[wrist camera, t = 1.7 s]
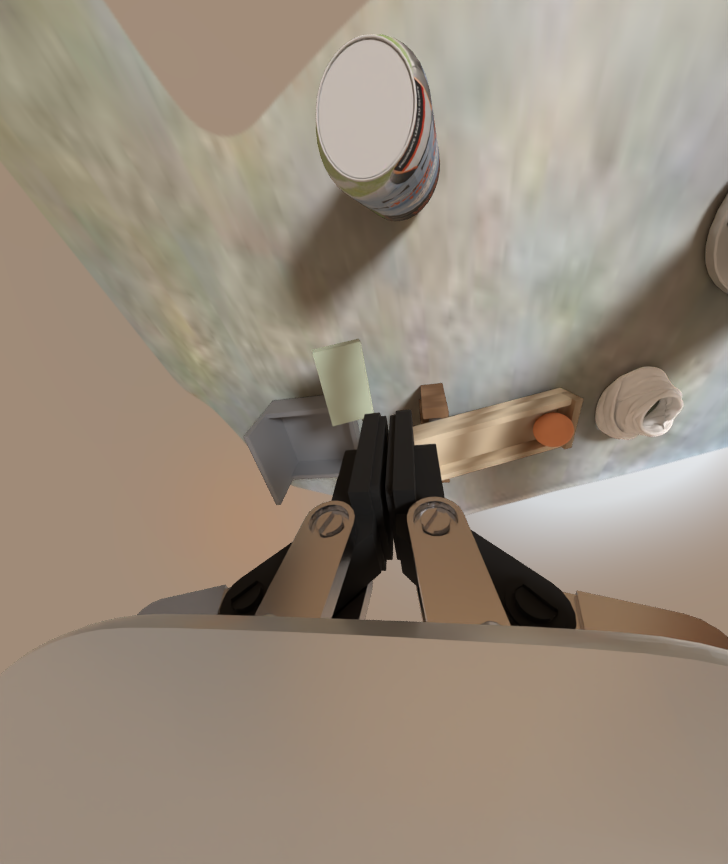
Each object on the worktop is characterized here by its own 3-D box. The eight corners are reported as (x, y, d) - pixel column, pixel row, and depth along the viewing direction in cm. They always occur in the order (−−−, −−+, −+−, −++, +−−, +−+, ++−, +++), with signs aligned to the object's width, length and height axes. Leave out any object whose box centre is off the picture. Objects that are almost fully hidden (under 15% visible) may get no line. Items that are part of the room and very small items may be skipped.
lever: (569, 284, 27) (610, 288, 24) (543, 432, 36) (570, 451, 33) (311, 346, 25) (313, 360, 22) (350, 486, 34) (356, 512, 31)
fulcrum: (445, 382, 33) (450, 406, 29) (447, 453, 38) (452, 482, 34) (417, 385, 34) (419, 409, 29) (423, 454, 39) (425, 483, 34)
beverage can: (417, 233, 26) (422, 234, 16) (338, 197, 25) (291, 175, 15) (454, 138, 22) (489, 63, 12) (362, 94, 21) (322, -24, 12)
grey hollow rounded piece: (597, 366, 31) (619, 383, 27) (679, 355, 29) (717, 371, 25) (589, 431, 35) (608, 455, 31) (662, 425, 32) (692, 450, 28)
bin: (350, 392, 35) (337, 428, 29) (365, 458, 41) (357, 502, 34) (272, 400, 37) (243, 436, 31) (296, 462, 43) (276, 504, 36)
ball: (559, 403, 31) (586, 419, 28) (553, 431, 33) (578, 449, 30) (527, 411, 31) (551, 428, 28) (523, 438, 33) (545, 457, 30)
